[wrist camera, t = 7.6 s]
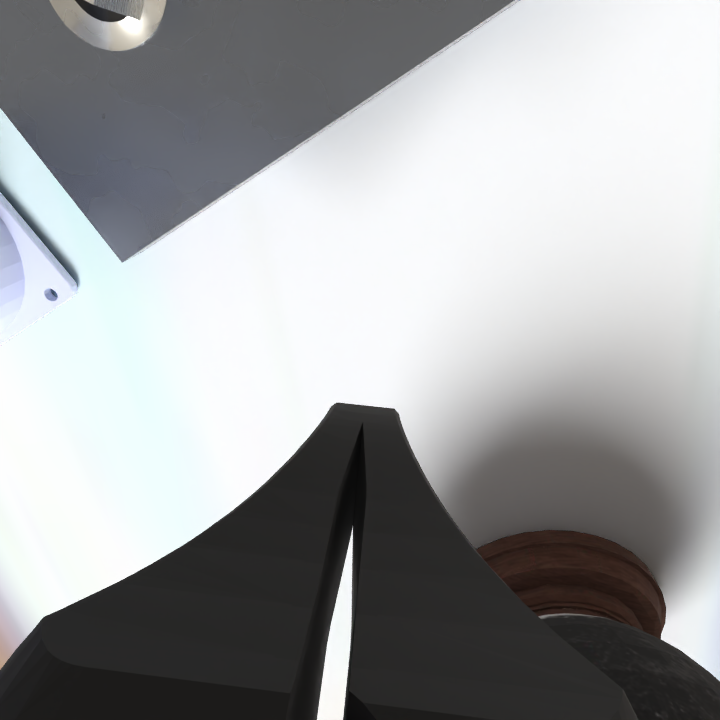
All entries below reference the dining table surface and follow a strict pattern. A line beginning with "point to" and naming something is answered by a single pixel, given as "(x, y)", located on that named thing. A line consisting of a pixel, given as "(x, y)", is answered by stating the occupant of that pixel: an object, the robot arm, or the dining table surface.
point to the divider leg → (121, 7)
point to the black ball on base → (606, 617)
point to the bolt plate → (200, 91)
